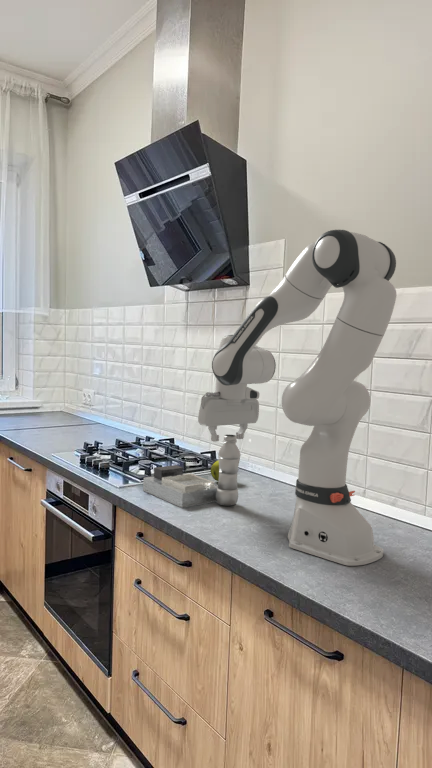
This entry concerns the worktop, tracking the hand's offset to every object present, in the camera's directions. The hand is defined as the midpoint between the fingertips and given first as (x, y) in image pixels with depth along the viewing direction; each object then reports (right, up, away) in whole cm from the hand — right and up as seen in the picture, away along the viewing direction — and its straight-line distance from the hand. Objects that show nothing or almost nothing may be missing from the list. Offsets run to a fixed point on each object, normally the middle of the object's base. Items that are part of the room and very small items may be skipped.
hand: (227, 440), depth 152 cm
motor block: (-15, -17, +8) cm, 24 cm away
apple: (-1, -17, +26) cm, 31 cm away
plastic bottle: (0, -19, 0) cm, 19 cm away
